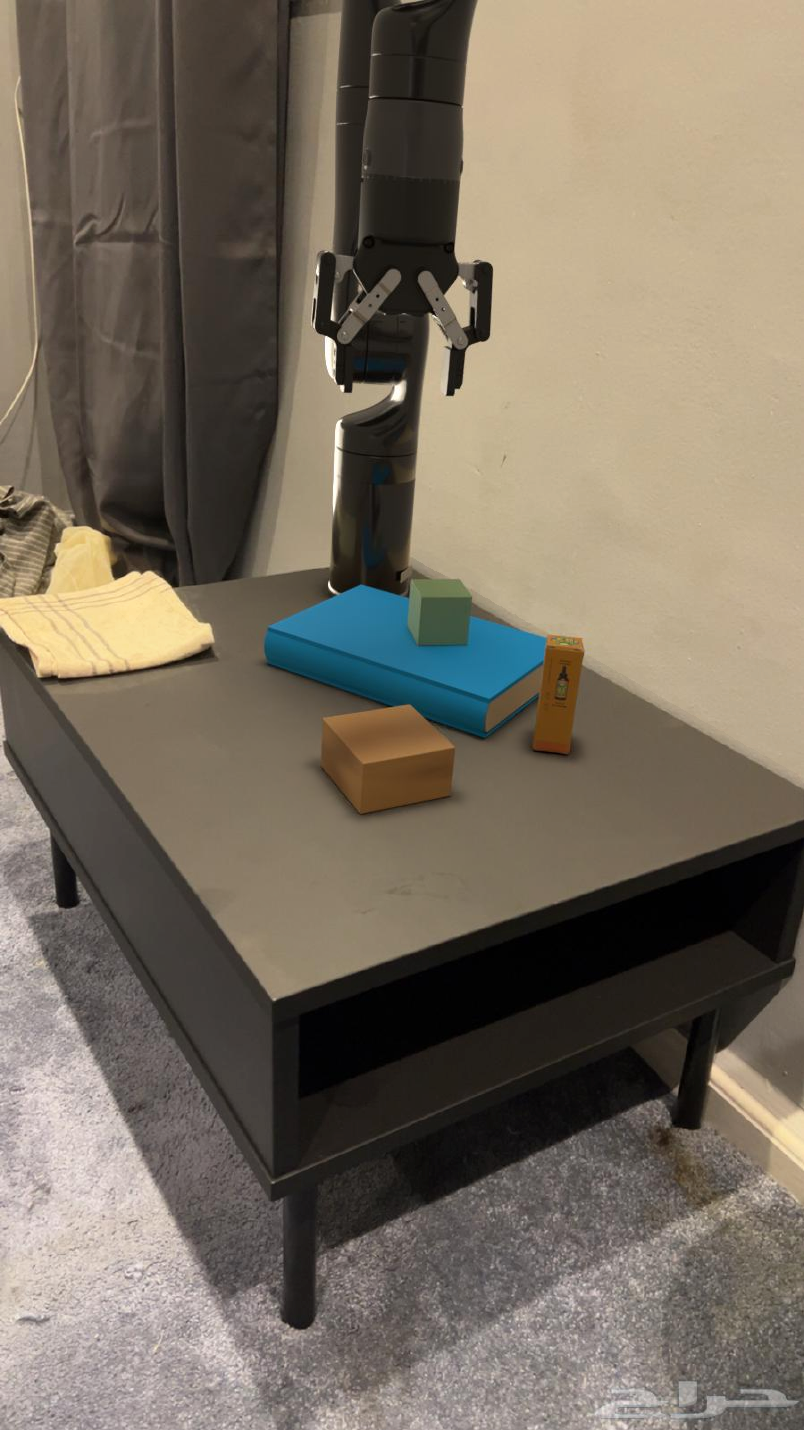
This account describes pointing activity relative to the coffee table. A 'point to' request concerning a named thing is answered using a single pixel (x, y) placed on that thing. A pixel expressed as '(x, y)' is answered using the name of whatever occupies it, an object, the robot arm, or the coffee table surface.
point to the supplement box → (558, 693)
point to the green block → (439, 612)
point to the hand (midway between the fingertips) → (396, 393)
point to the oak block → (386, 758)
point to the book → (411, 660)
